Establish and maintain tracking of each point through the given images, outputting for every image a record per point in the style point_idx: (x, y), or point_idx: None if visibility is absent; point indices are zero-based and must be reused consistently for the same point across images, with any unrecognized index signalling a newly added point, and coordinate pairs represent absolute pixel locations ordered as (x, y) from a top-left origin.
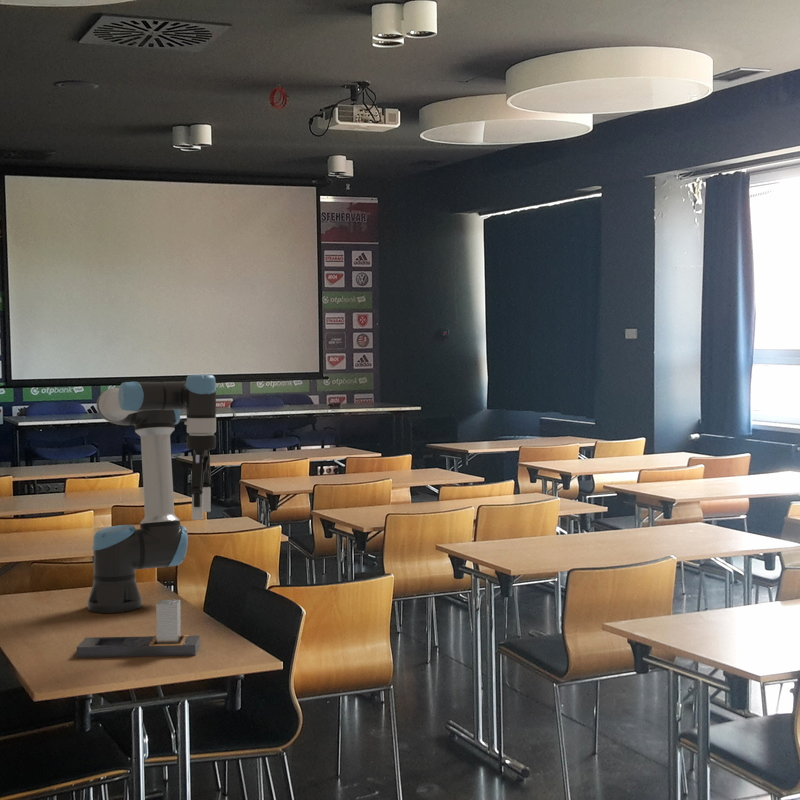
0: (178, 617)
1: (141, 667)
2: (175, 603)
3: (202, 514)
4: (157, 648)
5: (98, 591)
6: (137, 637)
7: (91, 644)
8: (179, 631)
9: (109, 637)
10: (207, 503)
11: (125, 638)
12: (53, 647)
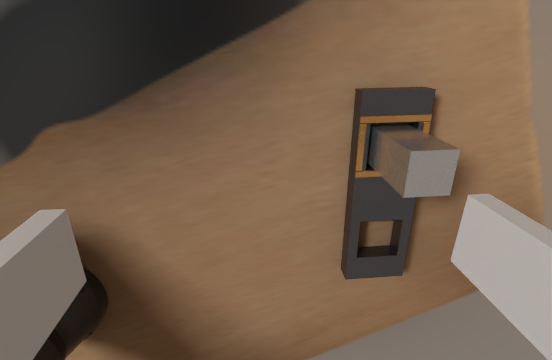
0: (424, 139)
1: (467, 166)
2: (449, 155)
3: (519, 214)
4: None
5: (78, 343)
6: (358, 205)
7: (390, 261)
8: (395, 131)
9: (350, 247)
10: (24, 277)
11: (359, 222)
12: (327, 307)
